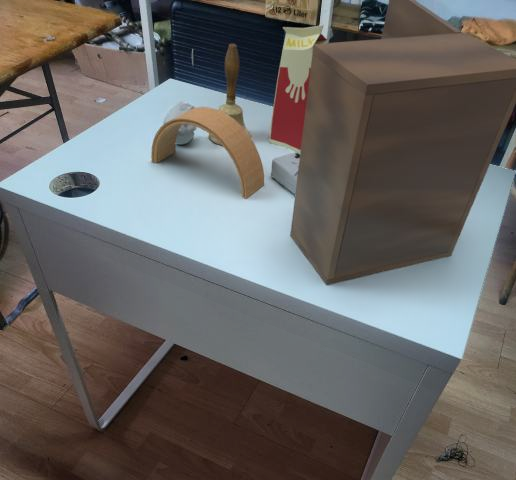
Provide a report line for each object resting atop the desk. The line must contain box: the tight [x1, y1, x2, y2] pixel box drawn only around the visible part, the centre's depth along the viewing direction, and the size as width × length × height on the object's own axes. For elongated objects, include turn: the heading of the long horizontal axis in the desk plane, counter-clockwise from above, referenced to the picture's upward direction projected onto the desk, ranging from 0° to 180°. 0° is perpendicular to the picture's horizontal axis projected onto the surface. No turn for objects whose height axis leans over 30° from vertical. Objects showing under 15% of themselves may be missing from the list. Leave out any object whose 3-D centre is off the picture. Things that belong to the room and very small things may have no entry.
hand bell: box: [208, 43, 253, 146], centre depth 90 cm, size 8×8×16 cm
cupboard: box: [289, 32, 516, 286], centre depth 65 cm, size 12×21×26 cm, turn 112°
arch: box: [150, 106, 265, 200], centre depth 83 cm, size 6×20×10 cm, turn 57°
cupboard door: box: [380, 0, 463, 39], centre depth 79 cm, size 7×21×26 cm, turn 12°
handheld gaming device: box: [270, 151, 301, 195], centre depth 86 cm, size 9×15×4 cm, turn 124°
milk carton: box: [268, 24, 328, 153], centre depth 89 cm, size 9×9×20 cm
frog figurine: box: [162, 101, 197, 145], centre depth 91 cm, size 6×7×7 cm
